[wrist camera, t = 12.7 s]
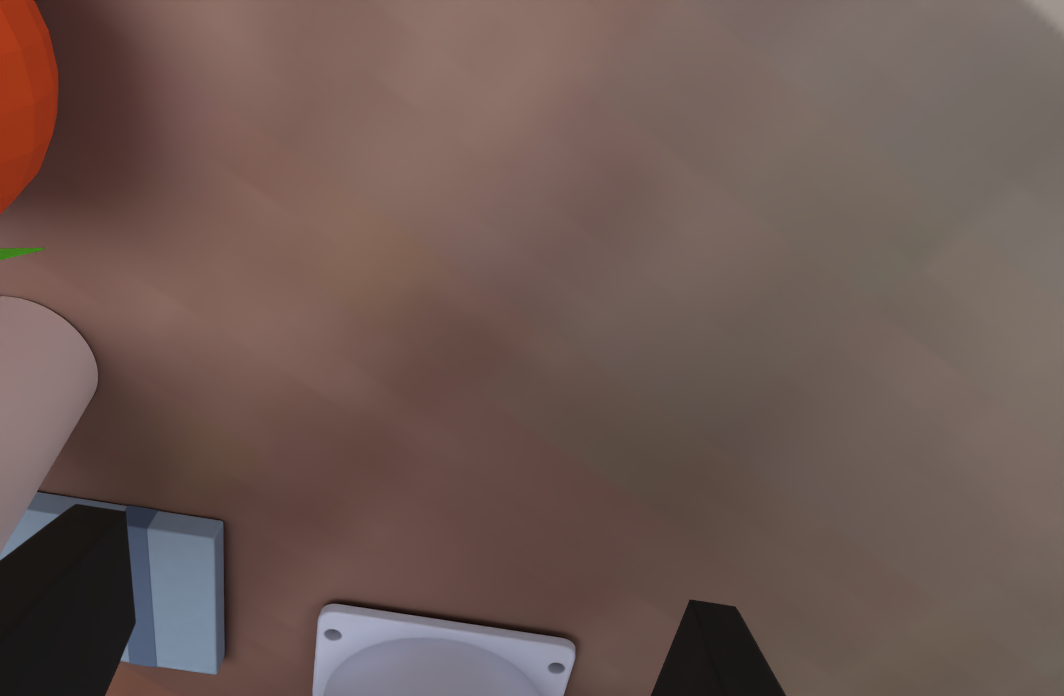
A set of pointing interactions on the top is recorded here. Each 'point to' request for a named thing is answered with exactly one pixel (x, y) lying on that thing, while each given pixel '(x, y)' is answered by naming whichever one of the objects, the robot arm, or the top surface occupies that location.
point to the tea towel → (160, 581)
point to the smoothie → (36, 399)
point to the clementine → (24, 100)
